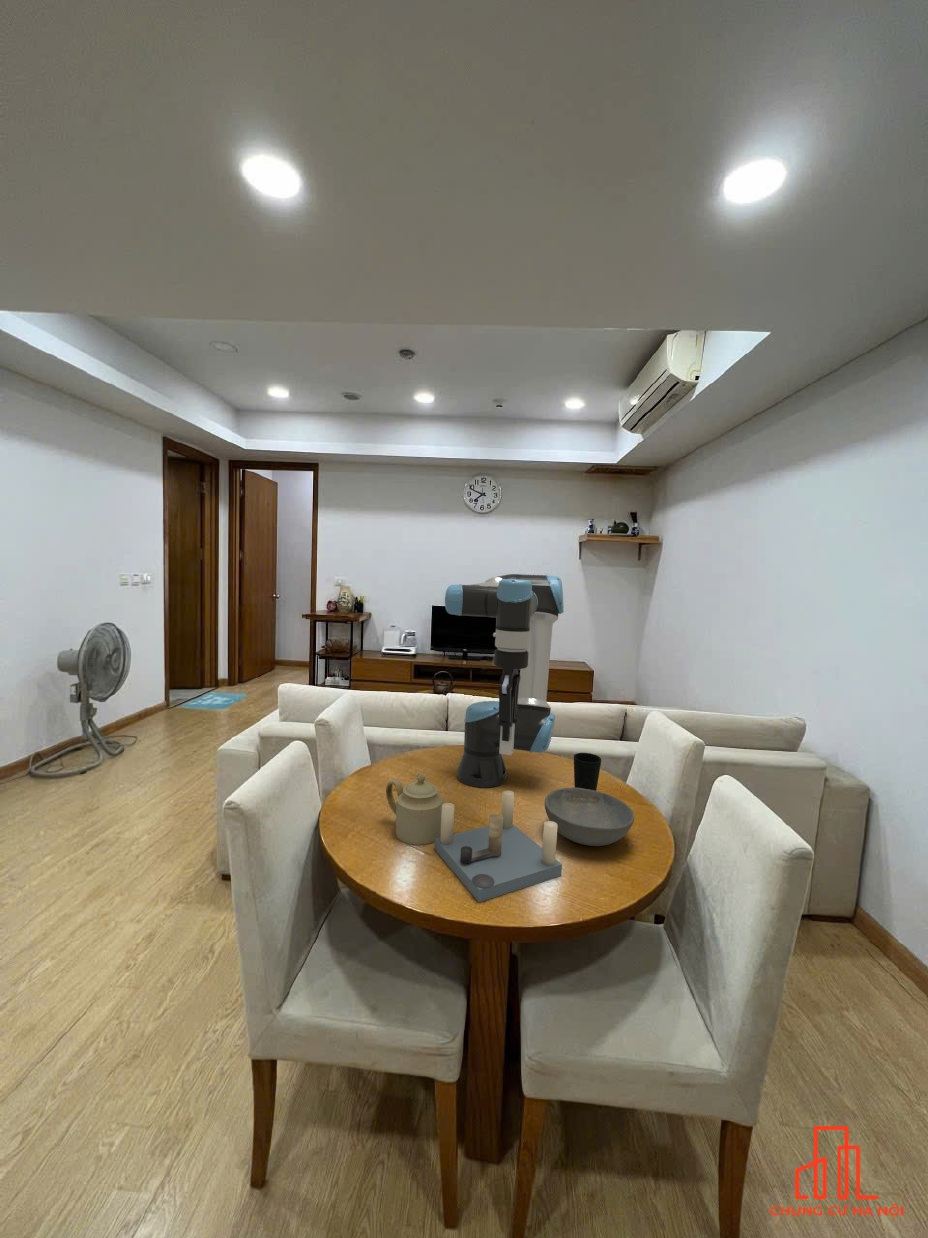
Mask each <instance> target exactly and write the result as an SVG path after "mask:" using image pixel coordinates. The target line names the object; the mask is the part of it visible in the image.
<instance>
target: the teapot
mask: <svg viewBox="0 0 928 1238" xmlns="http://www.w3.org/2000/svg"><path fill="white" fill-rule="evenodd" d="M425 780H426V775H425V774H424V772H419V773H418V774H417V777H416V781H411V782H410V783H409V784H407V785H405V786H404V787H403V784H402V782H401V781H400V780H398V779H392V780H390V781H389V782H388V783H387V784H386V787H385V795H386V801H387V803H388V805H389V808H390V809H391V810H392V812H393V814H394V815H395V835H396V837H397V839H398V840H399V841H401V842H403V843H406V844H408V845H413V846H424V845H429V844H432V843H435V838H439V837H441V814H442V804H444V798H443V796H442V795H441V794H440V793H439V788H438V787H437V786H436V785H434V784H433V783H431V782H429V781H425ZM393 786H394V787H395V789H396V794H397V798H396V800H395V798H394V794H393Z"/></svg>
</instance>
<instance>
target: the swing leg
mask: <svg viewBox="0 0 928 1238" xmlns="http://www.w3.org/2000/svg"><path fill="white" fill-rule="evenodd" d="M488 826H489V845H488V848H487V849H483V850H479V851H476V852H472V848H471V847H468V846H464V847H462V848H461V855H460V861H461V862H462V863H464V864H469V863H471V862H473V861H476V860H480V859H484V858H487V857H491V856H500V855H501V848H502V828H503V817H502V816H501V815H500V814H492V815H491V814H490V816H489V825H488Z"/></svg>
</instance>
